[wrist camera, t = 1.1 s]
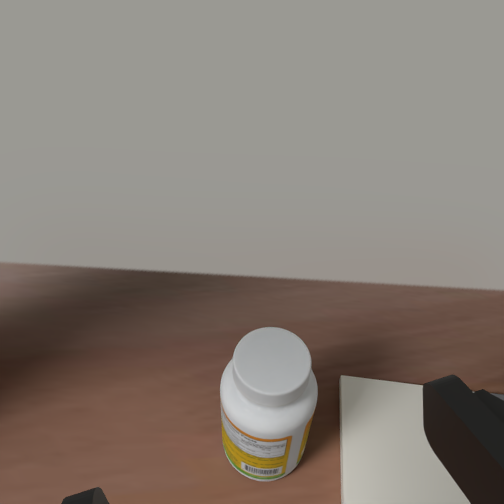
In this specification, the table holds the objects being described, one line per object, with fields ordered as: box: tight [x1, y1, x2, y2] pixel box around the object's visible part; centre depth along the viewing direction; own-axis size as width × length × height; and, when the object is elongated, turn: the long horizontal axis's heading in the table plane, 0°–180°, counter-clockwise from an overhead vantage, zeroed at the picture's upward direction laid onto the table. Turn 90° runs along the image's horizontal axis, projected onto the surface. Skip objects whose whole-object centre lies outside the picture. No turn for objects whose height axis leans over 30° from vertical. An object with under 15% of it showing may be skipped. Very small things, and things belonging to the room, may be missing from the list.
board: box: [339, 375, 504, 504], centre depth 28 cm, size 12×10×1 cm
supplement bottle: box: [220, 327, 318, 481], centre depth 26 cm, size 5×5×10 cm
